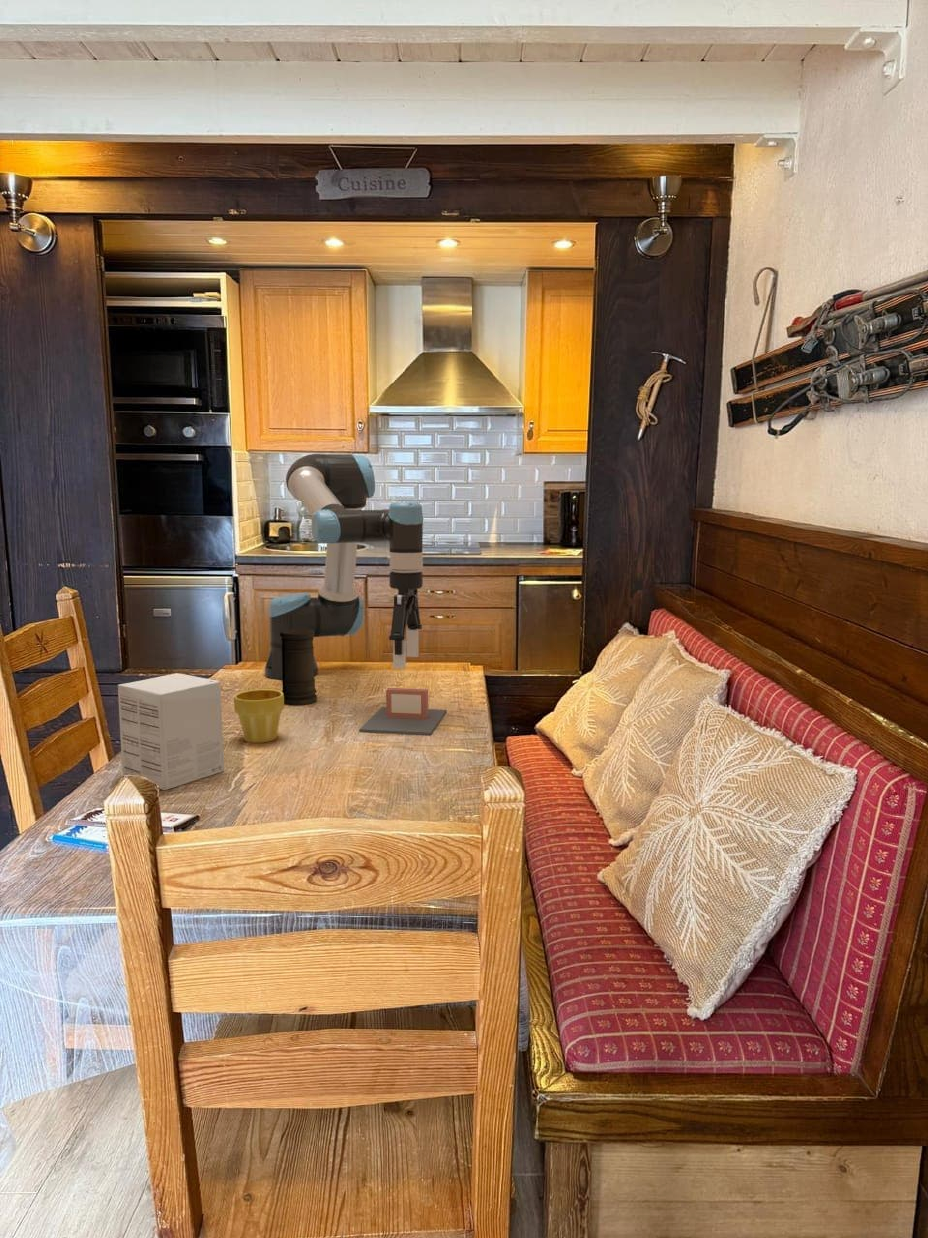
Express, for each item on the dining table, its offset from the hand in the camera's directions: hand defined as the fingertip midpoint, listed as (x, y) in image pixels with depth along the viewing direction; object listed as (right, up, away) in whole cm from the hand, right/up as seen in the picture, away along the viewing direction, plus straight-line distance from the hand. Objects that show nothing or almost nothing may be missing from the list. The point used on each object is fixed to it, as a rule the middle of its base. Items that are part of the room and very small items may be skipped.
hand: (406, 662), depth 193 cm
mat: (0, -14, 0) cm, 14 cm away
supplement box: (-41, -19, -37) cm, 58 cm away
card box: (0, -13, +1) cm, 13 cm away
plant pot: (-30, -16, -14) cm, 37 cm away
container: (-28, -11, +19) cm, 36 cm away
